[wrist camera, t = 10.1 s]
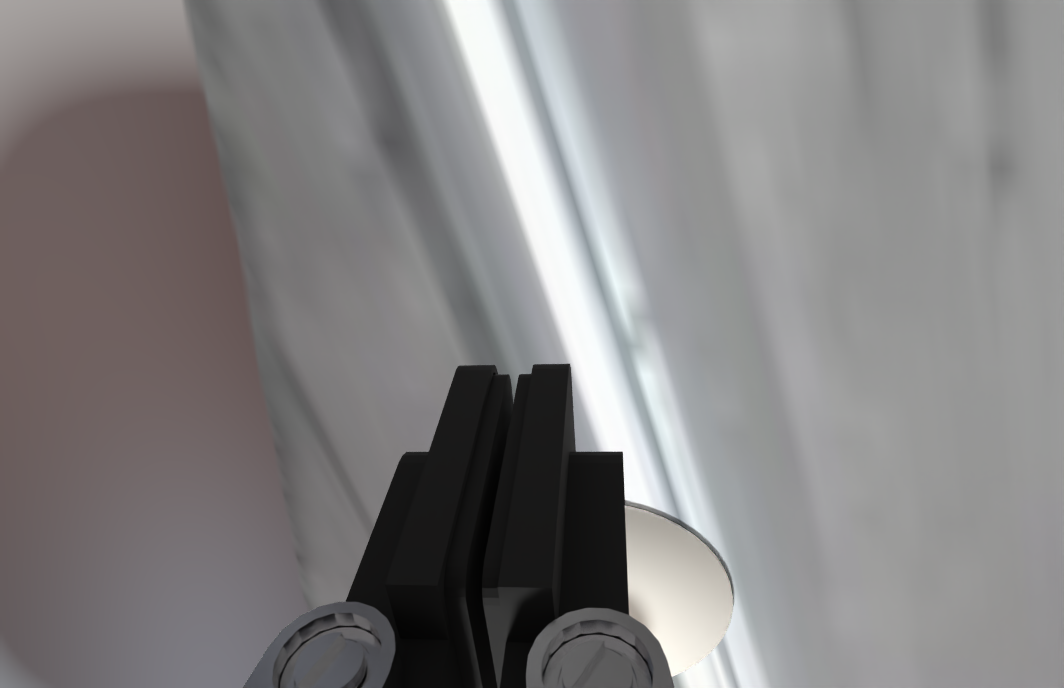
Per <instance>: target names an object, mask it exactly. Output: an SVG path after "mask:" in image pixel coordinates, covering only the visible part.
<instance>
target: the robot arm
mask: <svg viewBox="0 0 1064 688" xmlns="http://www.w3.org/2000/svg"><path fill="white" fill-rule="evenodd" d="M243 688H674V684H673V680H672V676H671V672H670V668H669V665H668V661H667V658H666V656H665V654H664V652H663V649H662V647H661V645H660V642H659V641H658V640H657V639H656V637H655V636H654V635H653V634H652V633H651V632H650V630H649V629H648V628H647V627H646V626H645V625H643V624H642V623H640V622H639V621H637V620H636V619H634V618H633V617H631V616H629V599H628V574H627V548H626V523H625V497H624V472H623V452H576V450H575V432H574V415H573V397H572V379H571V367H570V364H535V365H533V368H532V374H520V375H519V378H518V383H517V388H516V393H515V399H514V404H513V396H512V387H511V380H510V376H509V374H508V375H498V372H497V369H496V366H495V365H473V366H458V367H457V369H456V372H455V375H454V378H453V381H452V384H451V387H450V390H449V393H448V396H447V399H446V402H445V405H444V408H443V411H442V414H441V417H440V420H439V423H438V426H437V429H436V432H435V435H434V438H433V441H432V444H431V447H430V450H429V452H406V453H405V454H404V455H403V456H402V458H401V460H400V461H399V464H398V466H397V469H396V471H395V474H394V477H393V479H392V482H391V484H390V487H389V490H388V492H387V495H386V498H385V500H384V503H383V505H382V508H381V511H380V513H379V516H378V518H377V521H376V524H375V526H374V529H373V532H372V534H371V537H370V539H369V542H368V545H367V547H366V550H365V552H364V555H363V558H362V560H361V563H360V566H359V568H358V571H357V573H356V576H355V579H354V581H353V584H352V586H351V589H350V592H349V594H348V597H347V599H346V602H335V603H331V604H327V605H323V606H319V607H317V608H315V609H313V610H311V611H309V612H307V613H305V614H303V615H301V616H299V617H298V618H296V619H295V620H294V621H293V622H291V623H290V624H289V625H288V626H286V627H285V628H284V629H283V630H282V631H281V632H280V633H279V634H278V636H277V637H276V638H275V639H274V641H273V642H272V643H271V644H270V645H269V647H268V648H267V650H266V651H265V653H264V654H263V657H262V658H261V659H260V661H259V663H258V664H257V666H256V667H255V669H254V670H253V672H252V674H251V675H250V677H249V678H248V680H247V682H246V683H245V685H244V686H243Z"/></svg>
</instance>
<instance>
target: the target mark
mask: <svg viewBox="0 0 1064 688" xmlns="http://www.w3.org/2000/svg"><path fill="white" fill-rule="evenodd" d="M625 523H626V548H627V574H628V599H629V616H631V617H633V618H634V619H636V620H637V621H639V622H640V623H642V624H643V625H645V626H646V627H647V628H648V629H649V630H650V632H651V633H652V634H653V635H654V636H655V637H656V639H657V640H658V641H659V642H660V645H661V647H662V649H663V652H664V654H665V656H666V658H667V661H668V665H669V668H670V672H671V676H672V677H673V676H675V675H677V674H679V673H681V672H683V671H686V670H687V669H689V668H690V667H692V666H694V665H695V664H697V663H698V662H700V661H701V660H702V659H703V658H705V657H706V656H707V655H708V654H710V652H711V651H712V650H713V649H714V648H715V647H716V646H717V645H718V644H719V642H720V641H721V639H722V638H723V636H724V635H725V633H726V631H727V629H728V626H729V624H730V621H731V617H732V612H733V595H732V590H731V585H730V581H729V578H728V576H727V573H726V571H725V569H724V567H723V566H722V564H721V562H720V561H719V559H718V558H717V556H716V555H715V554H714V553H713V552H712V551H711V550H710V548H709V547H708V546H707V545H706V544H705V543H703V542H702V541H701V540H700V539H699V538H698V537H696V536H695V535H694V534H692V533H691V532H689V531H688V530H686V529H685V528H683V527H682V526H680V525H678V524H676V523H674V522H672V521H670V520H668V519H666V518H664V517H662V516H659V515H656V514H654V513H651V512H648V511H646V510H642V509H638V508H634V507H630V506H627V505H625Z"/></svg>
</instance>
